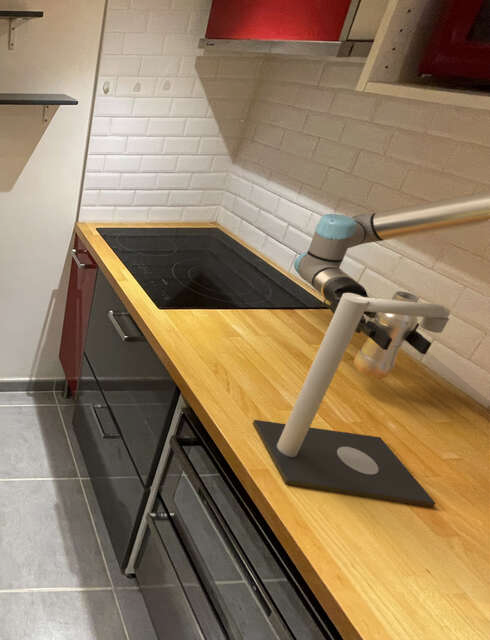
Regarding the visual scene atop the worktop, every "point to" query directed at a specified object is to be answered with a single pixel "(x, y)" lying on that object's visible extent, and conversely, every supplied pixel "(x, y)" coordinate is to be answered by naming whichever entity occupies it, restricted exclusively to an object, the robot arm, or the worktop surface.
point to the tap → (340, 447)
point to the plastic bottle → (398, 328)
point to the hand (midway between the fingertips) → (406, 346)
